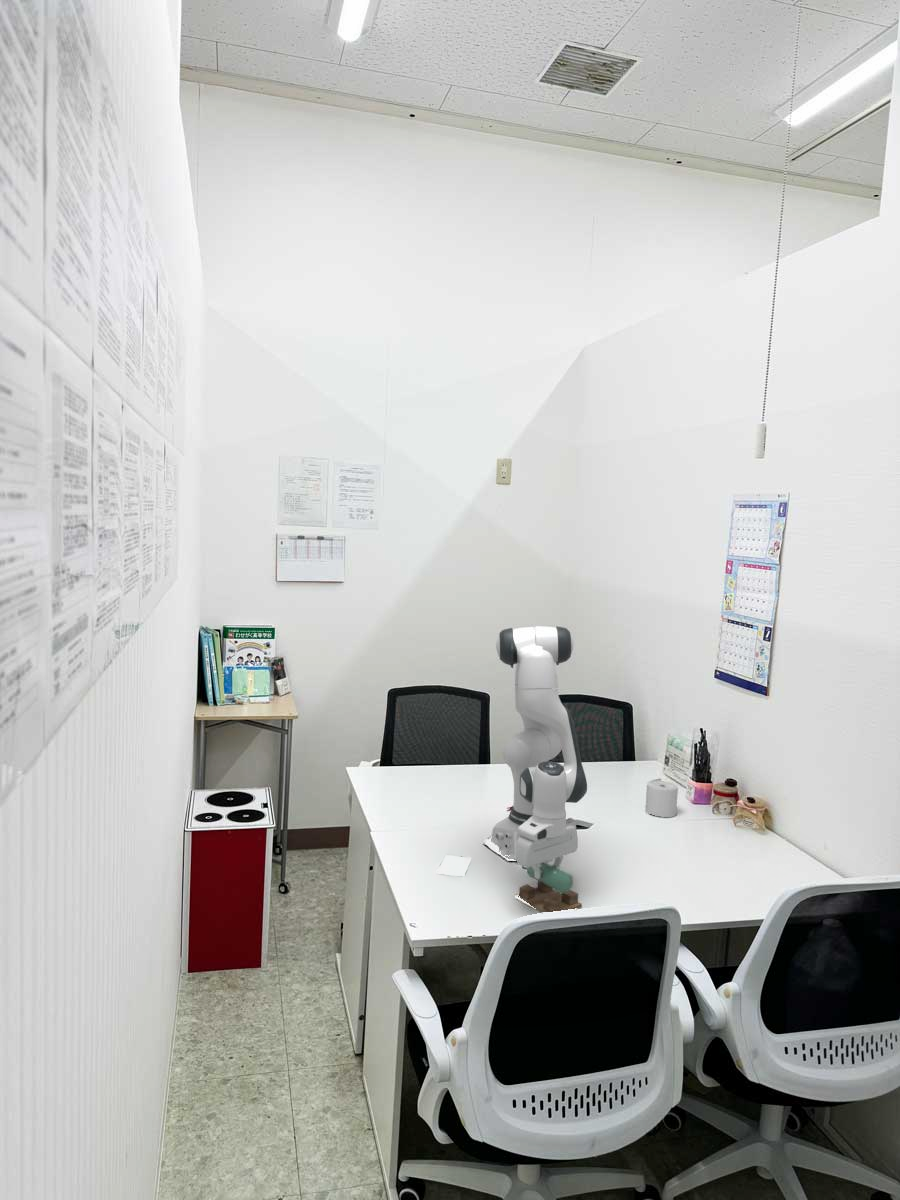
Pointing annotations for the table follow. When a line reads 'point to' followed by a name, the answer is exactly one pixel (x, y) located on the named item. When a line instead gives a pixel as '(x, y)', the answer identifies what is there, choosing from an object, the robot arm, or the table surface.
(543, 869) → the bottle
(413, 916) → the table surface
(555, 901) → the cradle
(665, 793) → the toilet tissue
